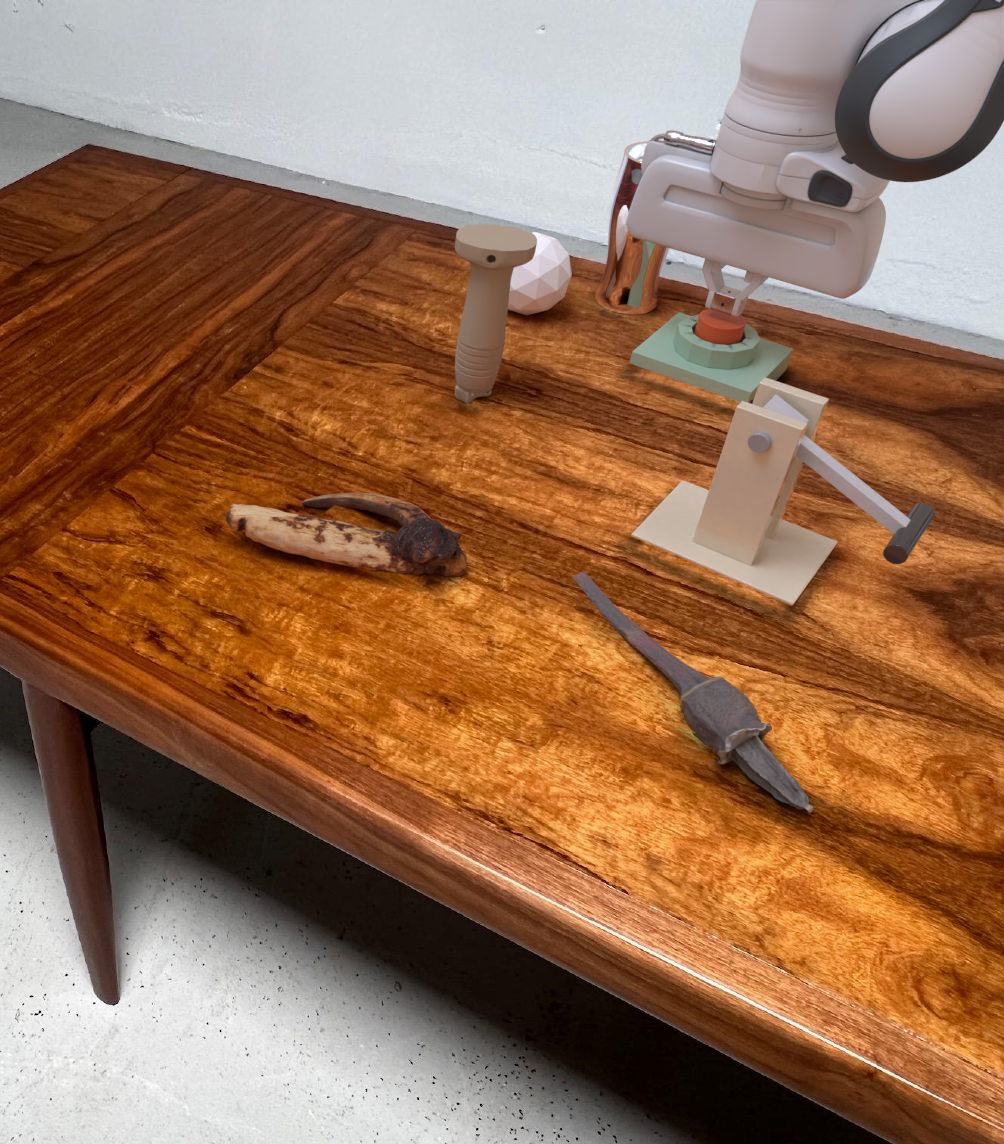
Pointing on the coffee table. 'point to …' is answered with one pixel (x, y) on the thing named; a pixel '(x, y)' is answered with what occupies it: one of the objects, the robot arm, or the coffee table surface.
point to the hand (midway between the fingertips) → (723, 310)
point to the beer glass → (629, 248)
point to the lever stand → (749, 502)
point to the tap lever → (862, 493)
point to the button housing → (712, 359)
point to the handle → (486, 302)
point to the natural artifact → (710, 708)
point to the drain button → (719, 327)
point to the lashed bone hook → (357, 535)
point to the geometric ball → (540, 278)
